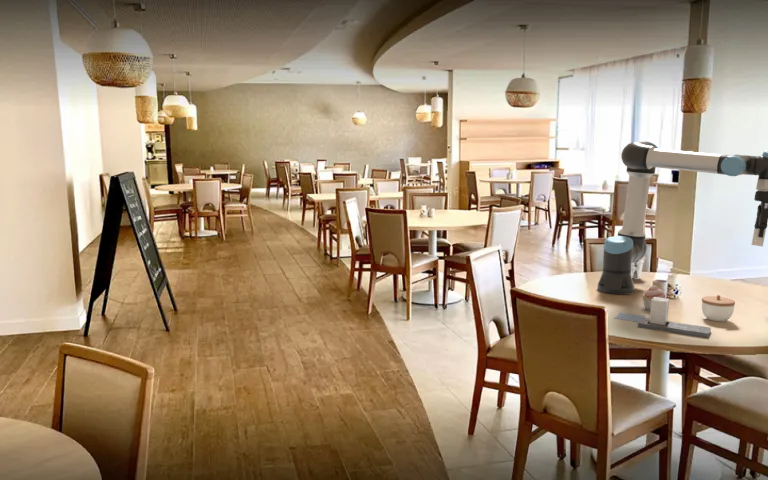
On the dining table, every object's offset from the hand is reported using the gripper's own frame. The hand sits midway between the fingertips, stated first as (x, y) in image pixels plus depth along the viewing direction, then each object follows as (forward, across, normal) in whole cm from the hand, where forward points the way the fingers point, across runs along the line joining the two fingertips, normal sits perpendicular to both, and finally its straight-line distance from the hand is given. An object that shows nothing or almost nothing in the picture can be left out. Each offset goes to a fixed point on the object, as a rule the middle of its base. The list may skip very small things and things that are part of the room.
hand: (756, 245), depth 243 cm
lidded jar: (+29, -23, +10) cm, 38 cm away
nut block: (+33, -44, +28) cm, 62 cm away
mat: (+33, -35, +38) cm, 62 cm away
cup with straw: (+24, +38, +44) cm, 63 cm away
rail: (+33, -44, +23) cm, 60 cm away
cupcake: (+30, -18, +32) cm, 48 cm away
